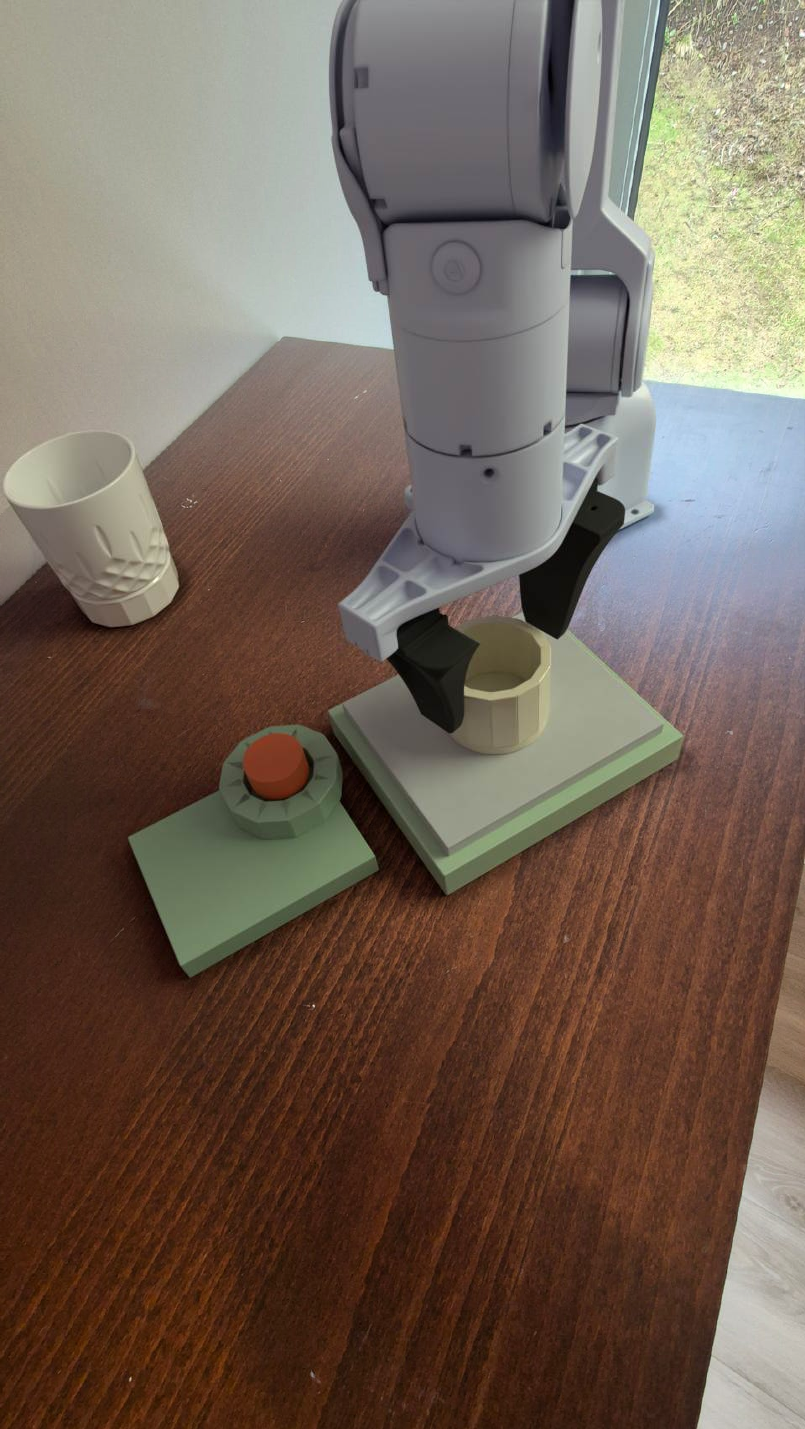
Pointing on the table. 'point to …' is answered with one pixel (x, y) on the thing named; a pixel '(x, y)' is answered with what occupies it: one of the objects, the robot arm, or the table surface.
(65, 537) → the white cup
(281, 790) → the button
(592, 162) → the robot arm
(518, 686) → the beige cup
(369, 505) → the table surface
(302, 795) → the block
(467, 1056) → the table surface
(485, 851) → the scale
